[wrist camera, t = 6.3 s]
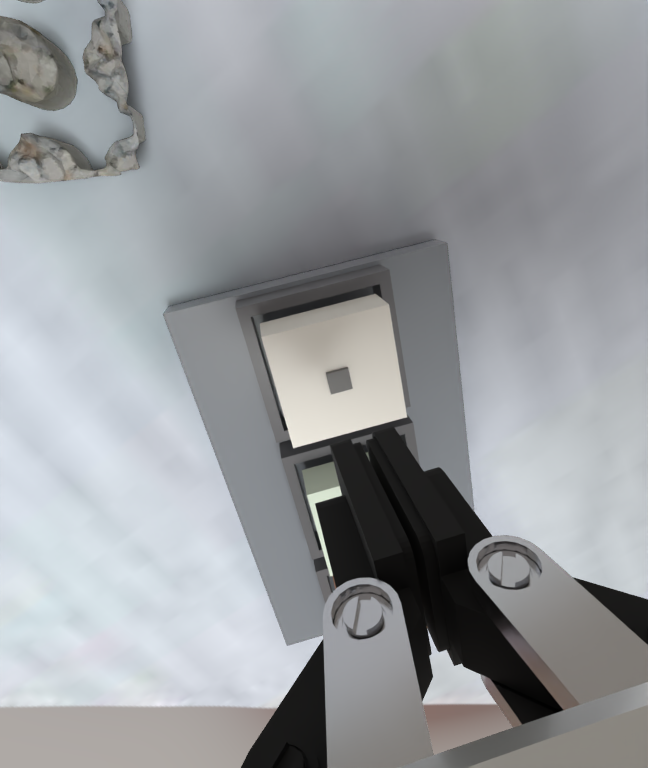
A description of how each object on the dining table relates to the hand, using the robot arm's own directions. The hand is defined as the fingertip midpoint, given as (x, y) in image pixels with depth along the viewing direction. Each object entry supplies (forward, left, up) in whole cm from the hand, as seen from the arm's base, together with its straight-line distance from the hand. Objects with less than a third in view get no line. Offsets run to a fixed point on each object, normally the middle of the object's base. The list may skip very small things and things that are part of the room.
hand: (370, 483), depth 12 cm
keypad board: (0, +8, -12) cm, 15 cm away
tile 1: (0, 0, -9) cm, 9 cm away
